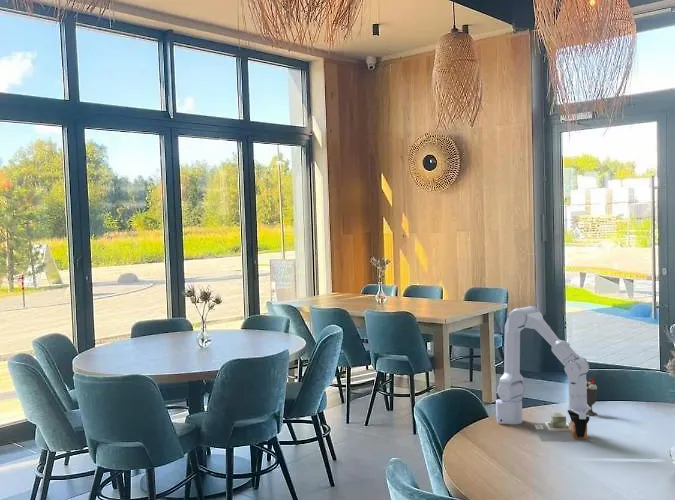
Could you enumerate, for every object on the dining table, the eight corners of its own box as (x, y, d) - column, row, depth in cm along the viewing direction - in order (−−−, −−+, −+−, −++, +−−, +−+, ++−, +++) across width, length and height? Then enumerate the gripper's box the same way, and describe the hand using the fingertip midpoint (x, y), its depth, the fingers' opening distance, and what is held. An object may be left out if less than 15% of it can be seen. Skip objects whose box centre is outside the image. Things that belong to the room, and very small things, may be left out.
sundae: (601, 416, 244) (600, 376, 243) (582, 416, 245) (581, 376, 244) (598, 411, 250) (597, 372, 250) (579, 411, 251) (578, 372, 251)
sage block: (553, 429, 229) (552, 416, 229) (550, 425, 234) (550, 412, 234) (566, 429, 229) (565, 416, 228) (563, 425, 233) (563, 412, 233)
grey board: (541, 443, 218) (541, 439, 218) (532, 425, 237) (532, 421, 237) (591, 444, 215) (591, 439, 215) (579, 425, 235) (578, 421, 235)
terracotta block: (573, 438, 219) (572, 425, 218) (570, 434, 223) (570, 421, 223) (587, 438, 218) (587, 425, 218) (584, 434, 222) (584, 421, 222)
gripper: (595, 400, 212) (596, 441, 213) (585, 388, 226) (586, 427, 227) (572, 400, 213) (573, 441, 214) (564, 388, 228) (565, 427, 228)
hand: (578, 434), depth 220 cm, fingers closed on terracotta block, 4 cm apart
